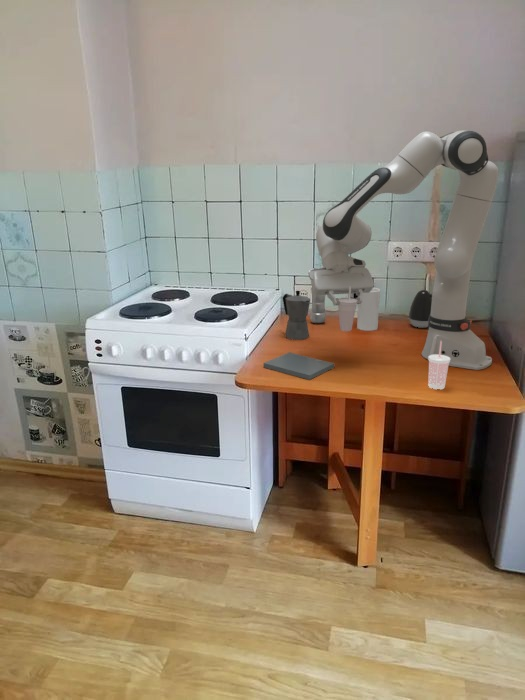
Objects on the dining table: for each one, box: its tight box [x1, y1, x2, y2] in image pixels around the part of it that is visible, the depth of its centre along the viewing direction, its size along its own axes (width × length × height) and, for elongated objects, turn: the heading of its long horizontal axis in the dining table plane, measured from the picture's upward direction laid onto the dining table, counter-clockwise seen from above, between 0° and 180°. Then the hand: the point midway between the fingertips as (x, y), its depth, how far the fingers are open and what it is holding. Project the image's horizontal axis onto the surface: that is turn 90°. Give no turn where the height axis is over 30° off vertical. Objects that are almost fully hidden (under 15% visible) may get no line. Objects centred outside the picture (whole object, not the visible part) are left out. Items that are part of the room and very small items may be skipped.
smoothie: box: [337, 286, 358, 332], centre depth 170 cm, size 6×6×14 cm
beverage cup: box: [427, 341, 450, 390], centre depth 156 cm, size 6×6×14 cm
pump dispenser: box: [408, 289, 433, 329], centre depth 219 cm, size 10×10×15 cm
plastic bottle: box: [309, 286, 327, 324], centre depth 223 cm, size 6×7×20 cm
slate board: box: [263, 352, 335, 381], centre depth 174 cm, size 18×14×2 cm
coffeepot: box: [282, 290, 311, 341], centre depth 205 cm, size 15×9×18 cm, turn 36°
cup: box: [356, 287, 381, 332], centre depth 216 cm, size 8×8×16 cm
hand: (348, 303), depth 169 cm, fingers closed on smoothie, 6 cm apart
